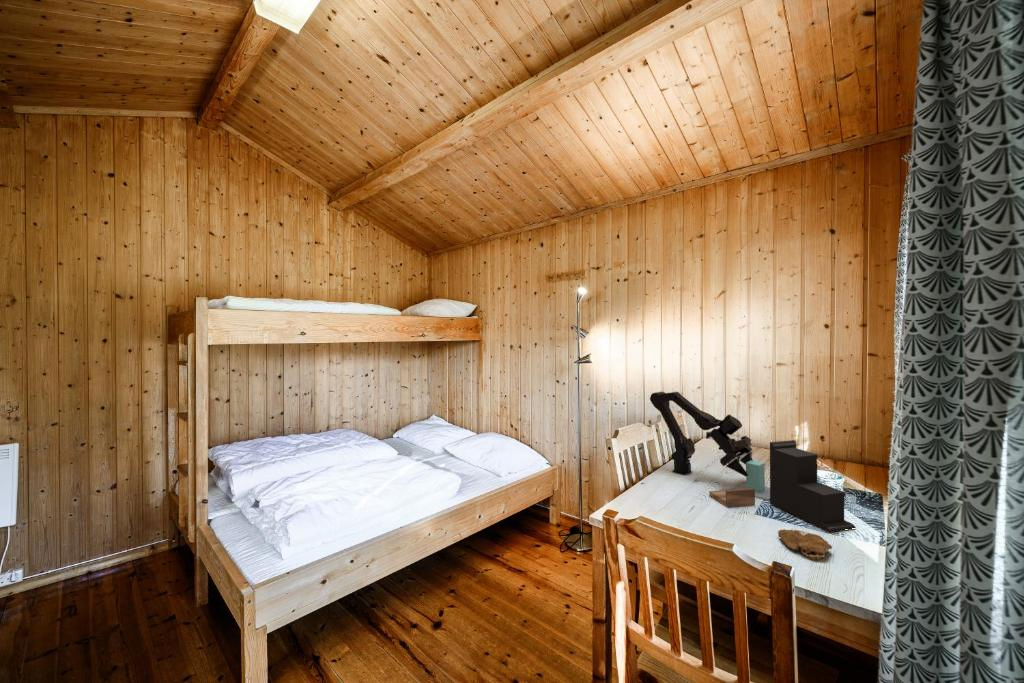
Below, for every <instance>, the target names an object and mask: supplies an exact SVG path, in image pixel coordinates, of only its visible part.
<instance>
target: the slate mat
mask: <svg viewBox="0 0 1024 683" xmlns="http://www.w3.org/2000/svg"><path fill="white" fill-rule="evenodd" d="M731 489H746V481H742V482H741V483H739V484H738V485H736V486H734V487H732V488H731ZM756 497H757V498H756ZM755 498H756V499H760V498H761V500H764V501H767V500H768V501H770V500H769V499H770V486H766V485H765V490H764V491H763V492H761V493H757V492H755Z"/></svg>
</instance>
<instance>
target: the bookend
mask: <svg viewBox="0 0 1024 683" xmlns="http://www.w3.org/2000/svg"><path fill="white" fill-rule="evenodd" d="M818 458H819V455H818V454H816V453H813V452H810V451H807V450H803V449H801V448H797V442H796V440H793V439H790V440H779V441H778V440H777V441H770V442H769V487H770V500H769V504H770V505H772V506H774V507H776V508H779V509H780V510H783V511H784V512H787V513H788V514H791V515H792V514H793V516H794V515H795V516H794V517H796V516H797V517H796V518H798V517H800V518H801V519H800V518H799V519H800V520H802V519H804V520H806V521H808V522H810V523H812V524H814V525H813V526H815V525H816V526H815V527H817V526H818V527H817V528H819V527H820V528H819V529H821V528H822V529H821V530H823V529H824V530H823V531H825V530H826V531H825V532H827V531H828V532H827V533H829V532H831V533H835V532H834V531H839V532H841V531H840V530H845V529H852V528H857V526H855V525H854V524H853V523H851V522H850V521H847V520H845V497H846V493H845V492H846V491H842V490H839V489H837V488H835V487H831V486H829V485H827V484H824V483H822V482H818ZM804 520H803V521H804ZM806 521H805V522H806ZM808 522H807V523H808ZM810 523H809V524H810ZM812 524H811V525H812Z"/></svg>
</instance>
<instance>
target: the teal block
mask: <svg viewBox="0 0 1024 683" xmlns="http://www.w3.org/2000/svg"><path fill="white" fill-rule="evenodd" d="M745 471H746V472H747V474H748V476H745V482H746V488H754V489H755V492H757V493H761V492H763V491H764V490H765V486H766V480H765V479H766V478H765V477H766V476H765V475H766V474H765V462H762V461H761V462H760V461H757V460H753V461H752V460H751V461H749V462H746V465H745Z"/></svg>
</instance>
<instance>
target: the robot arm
mask: <svg viewBox="0 0 1024 683" xmlns="http://www.w3.org/2000/svg"><path fill="white" fill-rule="evenodd" d="M649 400H650V403H651V404H652V406H653V407H654V408H655V409H656V410H658V411H659V412H660V415H661V416H662V418H663V421H664V423H665V424H666V426H667V428H668V430H669V432H670V434H671V436H672V439H673V444H674V449H675V451H674V452H673V453H672V454H671V455H670V456H671V459H672V460H673V470H672V471H671V472H672V473H676V474H679V475H683V476H686V475H688V474H691V473H692V472H693V471H692V463H691V459H692V457H693V455H694V454H695V452H696V448H695V447H696V445H695V444H694V443H693V440H692V439H691V437H689V438H687V437H686V436H685V434H684V433H683V431H682V429H681V427H680V425H679V422H678V421H677V419H676V417H675V415H674V414H673V411H672V409H671V408H670V407H671V406H670V401H671V402H673V403H674V404H676V405H677V406H678V407H680V409H682V410H683V411H684V412H685V413H687V414H688V415H689V416H691V418H693V420H694V422H695V423H696V425H697V426H698V427H699V428H700V429H701V430H702V431H707V432H705V434H706V435H705V439H707V440H708V439H712V440H713V441H714V442H715V443H716V444H717V445H718V450H720V451H722V452H723V453H724V454H725V455H724V456H722V457H721V458H720V459H719V463H720V464H721V466H723V467H726V468H729V469H731V470H732V471H734V472H736V473H739V474H740V475H742V476H744V477H746V476H748V474H747V472H746V469H745V468H744V467H743V465H742V464H744V465H745V466H746V462H749V461H751V460H752V461H754V460H753V457H752V456H753V450H754V449H753V448H752V447H751V446H752V443H751V442H752V439H751V438H750V437H748V436H747V435H743V436H741V437H740V439H739V440H736V439H735V438H731V437H730V436H732V435H734V434H735V433H736V432H738V431H739V430H740V429H741V428H742V427H743V423H742V422H741V421H740V420H739V419H737V418H736V417H734V416H733V415H731V414H729V413H728V414H727V415H726V416H725V417H724V418H723V419H718V418H716V417H715V416H713V415H712V414H710V413H708V412H706V411H703V410H701V409H700V408H698V407H697V406H696V405H695V404H693V403H692V402H690V401H689V400H688V399H687V398H686V397H684V396H683V395H682V394H681V393H680V392H679V391H673V392H664V391H657V392H652V393H651V394H650V396H649ZM709 430H711V431H709ZM740 462H741V463H742V464H741V463H740Z"/></svg>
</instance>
